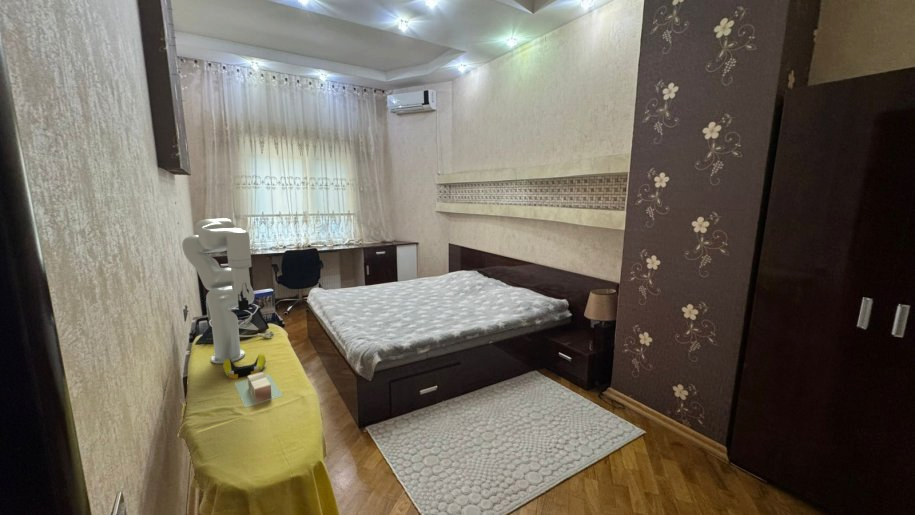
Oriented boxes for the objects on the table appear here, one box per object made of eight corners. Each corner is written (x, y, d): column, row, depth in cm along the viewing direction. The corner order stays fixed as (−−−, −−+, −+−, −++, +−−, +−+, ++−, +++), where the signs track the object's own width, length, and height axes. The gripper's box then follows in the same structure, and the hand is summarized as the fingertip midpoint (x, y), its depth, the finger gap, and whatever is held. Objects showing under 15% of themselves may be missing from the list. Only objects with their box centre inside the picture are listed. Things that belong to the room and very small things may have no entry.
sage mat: (234, 384, 139) (234, 383, 139) (268, 375, 147) (268, 373, 147) (245, 409, 124) (245, 407, 124) (283, 397, 132) (283, 395, 132)
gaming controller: (224, 371, 149) (222, 382, 141) (223, 358, 148) (220, 369, 140) (266, 364, 156) (266, 374, 148) (265, 352, 155) (265, 361, 147)
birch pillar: (247, 375, 135) (254, 389, 126) (262, 371, 139) (270, 384, 130) (248, 388, 136) (255, 402, 127) (263, 383, 139) (271, 397, 130)
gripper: (225, 261, 142) (229, 306, 145) (231, 267, 131) (236, 317, 134) (247, 259, 147) (250, 303, 150) (255, 265, 136) (259, 313, 139)
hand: (243, 309), depth 142 cm, fingers closed
